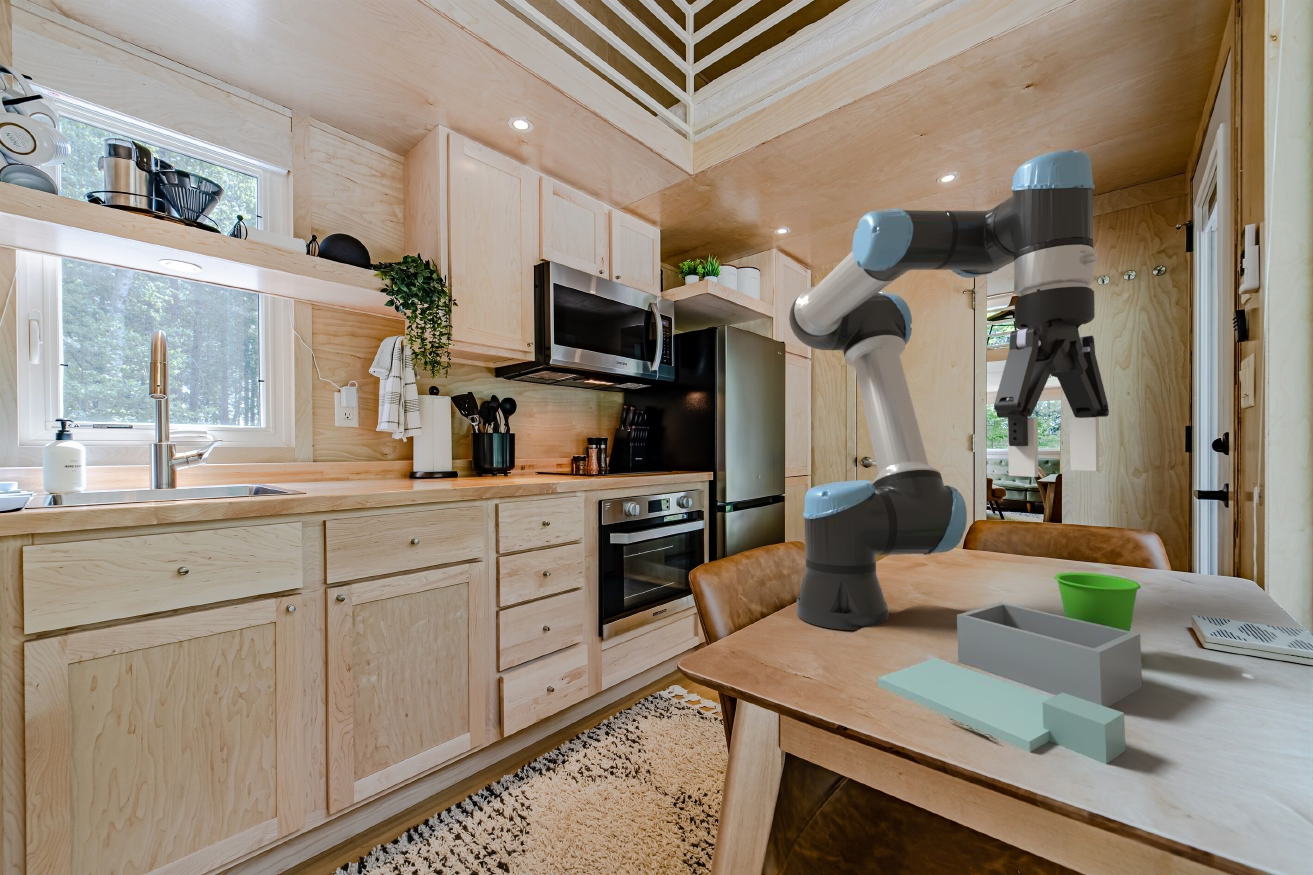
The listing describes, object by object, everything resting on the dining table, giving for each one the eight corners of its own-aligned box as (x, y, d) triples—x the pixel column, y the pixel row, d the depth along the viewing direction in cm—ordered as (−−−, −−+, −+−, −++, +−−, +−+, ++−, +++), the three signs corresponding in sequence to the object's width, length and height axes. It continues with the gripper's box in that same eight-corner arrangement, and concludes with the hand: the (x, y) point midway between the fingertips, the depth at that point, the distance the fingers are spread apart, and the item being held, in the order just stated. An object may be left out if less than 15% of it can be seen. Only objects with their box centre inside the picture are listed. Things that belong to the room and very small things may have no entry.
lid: (878, 694, 64) (877, 656, 65) (935, 673, 70) (934, 638, 70) (1087, 789, 46) (1085, 736, 46) (1142, 749, 52) (1140, 702, 52)
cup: (1162, 678, 67) (1158, 589, 67) (1079, 673, 69) (1076, 587, 69) (1116, 651, 76) (1113, 573, 76) (1043, 647, 78) (1041, 571, 78)
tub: (958, 667, 71) (956, 614, 71) (1001, 651, 76) (1000, 602, 77) (1101, 717, 58) (1099, 652, 58) (1142, 693, 63) (1140, 633, 63)
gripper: (1029, 269, 54) (1032, 481, 54) (1141, 296, 65) (1144, 469, 65) (956, 288, 60) (959, 476, 60) (1070, 309, 72) (1072, 467, 72)
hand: (1055, 473), depth 63 cm, fingers open, 13 cm apart
